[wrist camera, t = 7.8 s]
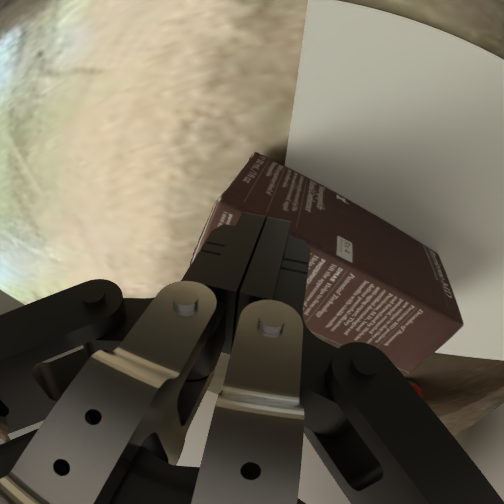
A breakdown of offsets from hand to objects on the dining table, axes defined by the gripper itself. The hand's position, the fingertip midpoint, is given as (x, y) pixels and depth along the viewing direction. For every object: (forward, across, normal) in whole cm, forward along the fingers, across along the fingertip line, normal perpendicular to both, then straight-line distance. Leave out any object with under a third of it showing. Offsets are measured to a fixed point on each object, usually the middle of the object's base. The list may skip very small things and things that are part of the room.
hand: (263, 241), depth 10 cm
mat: (+8, -11, +1) cm, 13 cm away
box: (+4, +3, +1) cm, 5 cm away
